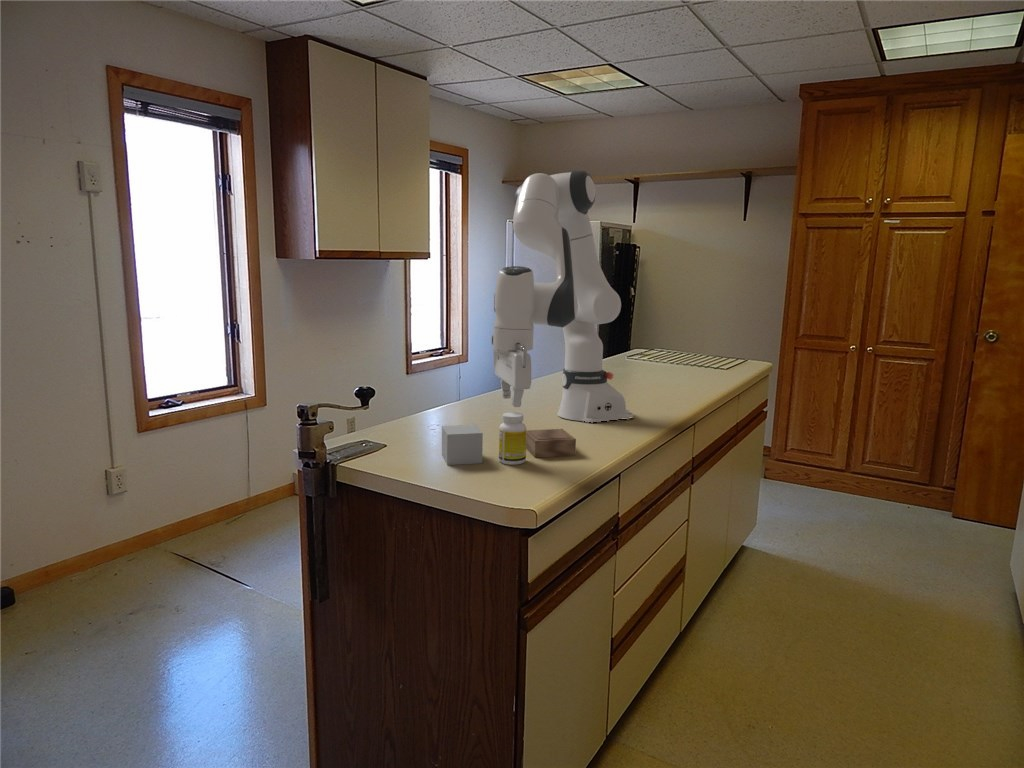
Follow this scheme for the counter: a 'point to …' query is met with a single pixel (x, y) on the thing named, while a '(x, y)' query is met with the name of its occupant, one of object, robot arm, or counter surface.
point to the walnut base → (550, 443)
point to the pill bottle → (512, 439)
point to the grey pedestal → (462, 444)
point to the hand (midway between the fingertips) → (511, 402)
